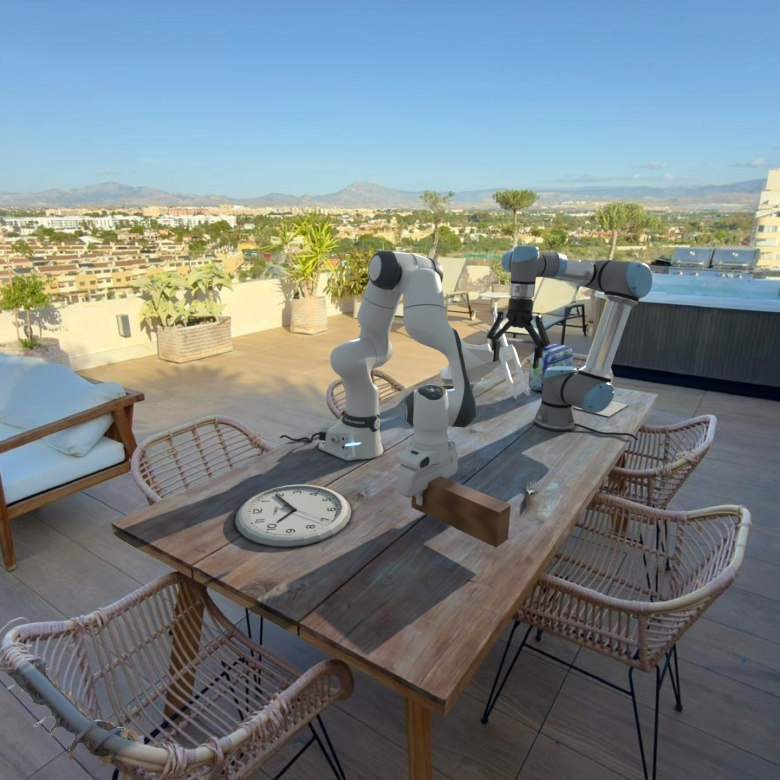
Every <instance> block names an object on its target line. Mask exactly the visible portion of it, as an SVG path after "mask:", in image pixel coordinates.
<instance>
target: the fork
mask: <svg viewBox="0 0 780 780" xmlns="http://www.w3.org/2000/svg"><path fill="white" fill-rule="evenodd" d="M536 483H537V480H536V479H535V480H534V482H532V479H530V481H529V478H527V482H526V487H525V492H526V493H528V495H527V496H526V497H525V510H526V511H527V509H528V507H529V504H530V502H531V494H532V493H535V491H536Z"/></svg>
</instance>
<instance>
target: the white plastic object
mask: <svg viewBox="0 0 780 780" xmlns="http://www.w3.org/2000/svg"><path fill="white" fill-rule="evenodd" d="M492 315H493V319H494V322H495V321H496V319H497V316H498V312H497V311H496V310H495V311H492ZM502 327H503V325H502V323H501V324H500V326H499V327H498V329H497V332H498V331H499V330H500V329H501V328H502ZM499 339H500V342H501V345H502V347H500V351H499V360H498V361H496V362H494V361H493V355H494V351H492V346H490V344H489V343H488V342H487V343H483V344H479V345H473V346H469V345H468V343H466V342H465V340H464V339H463V338H460V341H461V344H462V349H463V353H464V357H465V362H466V367H467V372H468V377H469V381H470V383H473V384H477V383H480V382H482V381H484V378H485V377H486V376H487V375H489V374H490V373H492V372H494V371H495V370H496V369H497V368H499V367H500V366H502V370H503V373H504V376H505V380H506V383H507V386H508V390H509V393H510V394H511V395H512V397H513V398H514V399H515V400H517V392H516V391H517V390H516V388H515V385H514V381H513V378H512V375H511V371H510V369H509V365H508V361H510V360H513V363H514V366H515V369H516V372H517V376H518V380H519V382H520V385H521V389H522V391H523V393H524V395H525V396H526V397H528V396H531V395H530V390H529V388H528V387H529V386H528V384H527V381H526V378H525V375H524V371H523V369H522V368H523V367H522V366H521V362H520V359H519V355H518V352H517V349H516V347H515V346H514V345H513V343H511V344H508V341H507V337H506V334H505V333H504V334H503V335H502V336H501V337H500V338H499ZM438 372H439V376H440V381H442V383H443V384H444V385H445V386H449V385H453V381H452V376H451V371H450V367H449V365H448V366H446V367H444V368H442V369H440V370H439V371H438Z"/></svg>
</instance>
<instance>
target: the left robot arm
mask: <svg viewBox="0 0 780 780" xmlns="http://www.w3.org/2000/svg"><path fill="white" fill-rule="evenodd" d="M367 270H368V271H367V274H368V279H369V280H368V281H367V285H366V287H365V289H364V292H363V296H362V299H361V302H360V305H359V308H358V312H357V315H356V320H357V323H358V324H359V326H360V332H359V335H358V337H357V338H354V339H351V340H347V341H344V342H341V343H340V344H339V345H338V346H336V347H335V348H333V349H332V351H331V353H330V356H329V364H330V366H331V369H332V370H333V371H334V373H335V374H336V375H338V376H339V378H340V379H341V381H342V384H343V389H344V395H345V396H344V397H345V409H344V410H343V411H342V412H339V413H338V418H340V417H341V419H340V420H339V421H338V422H336V423H334V424H333V425H332V426H330V427H326V426H325V427H323V428H322V429H320V430H319V432H315V433H313V434H312V435H311V437H308V436H303V437H300V438H292V437H290V436H289V435H287V434H281V436H279V439H282V438H286V439H288V440H290V441H293V442H299V441H302V440H303V441H304V440H307V441H308V442H309V443H312V442H313V440H314V438H315V437H316V436H318V439H319V441H320V443H319V444H318V450H321V451H323V452H326V453H328V454H330V455H332V456H335V457H337V458H340V459H342V460H344V461H347V462H351V461H355V460H371V459H373V458H377V457H379V456H381V455H382V454H383V453H384V448H383V443H382V438H381V430H380V429H381V410H380V389H379V387H378V386H377V384H375V383H374V382H373V380H372V376H371V375H372V374H371V372H372V370H375V369H377V368H381V367H382V366H383V365H385V364H386V363H387V362H389V361H390V360H391V358H392V356H393V353H394V350H393V349H394V348H393V347H394V346H393V345H392V342H391V341H390V337H391V330H392V325H393V322H394V319H395V316H396V313H397V312H398V308H399V305H400V302H401V298H403V301H402V309H403V310H402V315H403V325H404V330H405V332H406V333H407V335H408V336H409V337H410V338H411V339H413V340H414V341H415V342H416V343H419V344H421V345H423V346H425V347H429V348H431V349H433V350H436V351H438V352H440V353H441V354H442V355H444V357H446V360H447V362H448V366H449V367H450V371H451V376H452V381H453V384H452V386H453V388H449V389H447V388H445V387H444V386H442V385H438V384H434V383H433V384H432V383H428V384H423V385H421V386H418V388H416V389H415V390H412V391H411V392H409V393H408V394H407V396H406V397H405V398H404V400H405V412H404V421H406V422H407V423H408V424H409V426H411V427H412V428H414V429H413V436H412V442H410V443H409V445H408V446H407V447H406V448H405V449H404V450H402V452H400V453H399V454H398V456H397V462H398V463H399V464H400V465H399V466H398V469H397V477H396V488H397V492H398V493H399V495H401V496H403V497H406V498H408V499H410V498H412V496H414V495H415V497H416V503H417V504H418V505H420V506H421V505H422V504H424V503H425V498H424V497H422V495H421V494H423V490H425V489H427V488H428V483H429V482H430V481H432V480H434V479H436V478H438V477H440V476H442V477H444V478H446V479H449V478H450V477H452V476H454V475H456V474H457V471H458V469H459V459H458V451H457V450H456V448H457V445H456V443H455V442H454V441H453V440H449V435H448V428H449V427H452V428H462V429H463V428H464V429H465V428H466V427H467V426H469V425H470V424H471V423H472V422H473V421H474V420H475V419H476V417H477V403H476V399H475V397H474V392H473V390H472V385H471V382H470V381H469V377H468V372H467V367H466V362H465V357H464V353H463V349H462V344H461V341H460V339H461V338H460V335H459V333H458V330H457V329H455V328H453V327H452V325H450V323H449V321H448V319H447V316H446V308H445V296H444V295H445V294H444V289H443V285H442V284H443V280H444V271H443V266H442V265H441V263H440V262H439V261H437V260H435V259H434V258H432V257H431V258H430V257H425V256H423V255H419V254H416V253H411V252H402V251H401V252H400V251H392V250H388V249H385V250H378V251H376V252H375V253H374V254H373V255H372V257H371V258H370V260H369V263H368V269H367Z"/></svg>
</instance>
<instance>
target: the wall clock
mask: <svg viewBox="0 0 780 780" xmlns="http://www.w3.org/2000/svg"><path fill="white" fill-rule="evenodd" d="M351 514H352V509H351V504H350V503H349V501H348V500H347V499H346V498H345V497H344V496H343V495H341V494H340V493H338V492H337V491H335V490H333V489H330V488H327V487H323V486H318V485H313V484H290V485H289V484H288V485H282V486H277V487H272V488H269V489H267V490H264V491H261V492H259V493H257V494H255V495H254V496H252V497H250V498H248V499H247V500H246V501H245V502H244V503H243V504H242V505H240V507H239V509H238V510H237V511H236V514H235V520H234V524H235V526H236V529H237V531H238V532H239V533H240V534H241V535H242V536H243V537H245V538H246V539H248V540H250V541H252V542H254V543H257V544H261V545H266V546H270V547H283V548H284V547H285V548H286V547H287V548H289V547H298V546H306V545H311V544H313V543H319V542H322V541H324V540H327V539H328V538H330V537H332V536H334V535H336V534H337V533H339V532H340V531H341V530H343V529H345V526H346V525H347V524H348V522H350V518H351Z"/></svg>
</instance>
